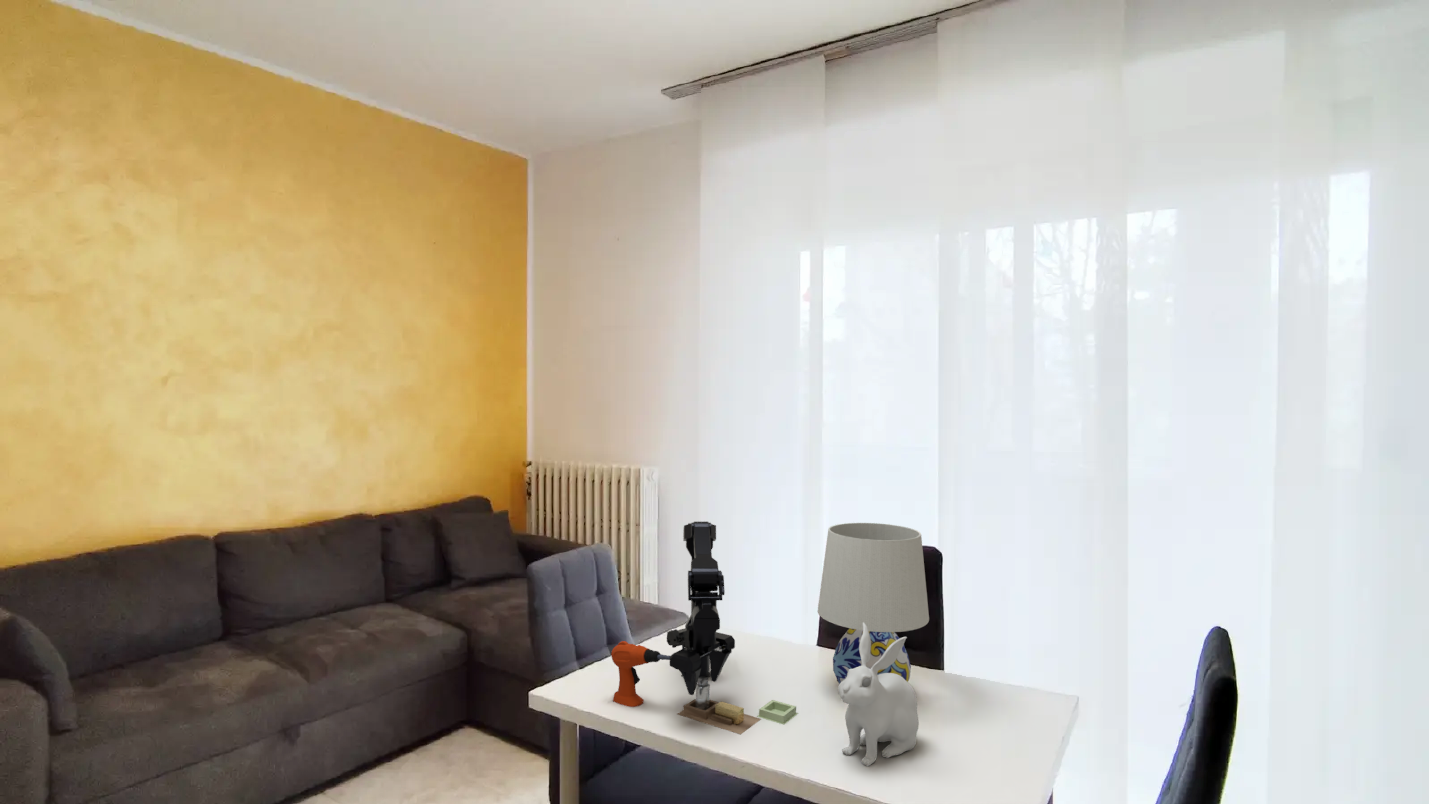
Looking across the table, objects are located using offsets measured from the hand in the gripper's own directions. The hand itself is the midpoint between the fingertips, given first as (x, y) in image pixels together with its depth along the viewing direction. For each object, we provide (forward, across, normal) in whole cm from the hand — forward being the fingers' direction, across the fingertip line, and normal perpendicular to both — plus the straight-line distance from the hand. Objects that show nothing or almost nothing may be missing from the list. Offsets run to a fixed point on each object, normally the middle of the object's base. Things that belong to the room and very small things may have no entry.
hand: (702, 687), depth 168 cm
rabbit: (+6, -7, +39) cm, 40 cm away
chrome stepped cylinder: (+5, 0, 0) cm, 5 cm away
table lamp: (+6, -35, +27) cm, 45 cm away
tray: (+6, -8, +15) cm, 18 cm away
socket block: (+6, 0, +5) cm, 8 cm away
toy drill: (+6, +5, -13) cm, 15 cm away
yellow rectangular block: (+5, 0, +7) cm, 9 cm away
